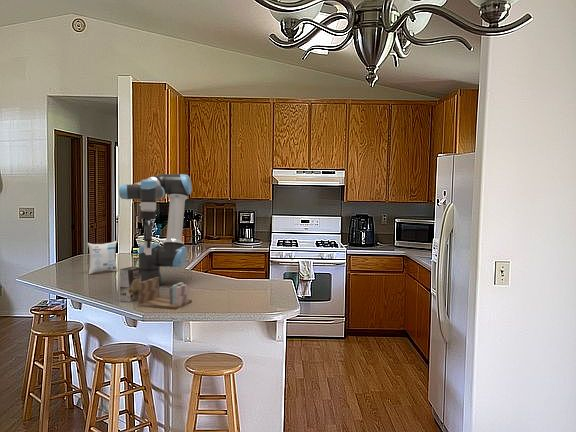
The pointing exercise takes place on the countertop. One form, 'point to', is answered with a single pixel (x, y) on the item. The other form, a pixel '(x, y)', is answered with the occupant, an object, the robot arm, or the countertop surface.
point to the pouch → (102, 257)
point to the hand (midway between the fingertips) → (147, 253)
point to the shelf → (150, 297)
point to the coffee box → (129, 283)
